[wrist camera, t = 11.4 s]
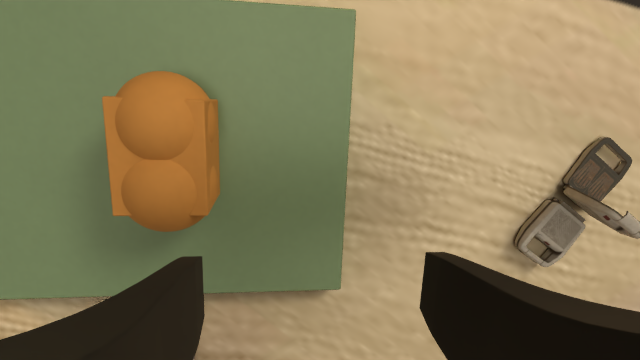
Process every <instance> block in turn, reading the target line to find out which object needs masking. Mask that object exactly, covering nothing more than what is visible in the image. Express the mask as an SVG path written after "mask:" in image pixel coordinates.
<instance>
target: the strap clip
mask: <svg viewBox="0 0 640 360" xmlns="http://www.w3.org/2000/svg"><path fill="white" fill-rule="evenodd" d="M604 144H605V145H606V146H607V147H608V148H609V149H610V150H611V151H612V152H613V153H614V154H616V155H617V156H618V157H619V158H620V159H621V163H620V165H619V166H618V167H617V168H616V169H615V170H613V169H612V168H610V167H609V166H608V165H607V164H606V163H605V162H604V161H603V160H602V159H601V158H600V157H598V156H597V155H596V154H595V153H596V152H597V151H598V150H599V149H600V148H601V147H602V146H603V145H604ZM631 163H632V159H631V157H630V156H629V155H628V154H627V153H626V152H624V151H623V150H622V149H621V148H620V147H619V146H618V145H617V144H616V143H615V142H614V141H613V140H612V139H611V138H608V137H603V138H601V139H598V140H597V141H596V142H594V143H593V144H592V145H591V146H589V147H588V148H587V149H586V150H585V151H584V152H583V154H582V155H581V156H580V158H579V159H578V160H577V162H576V163H575V164H574V166H573V167H572V169H571V170H570V171H569V173H568V174H567V175H566V177H565V178H564V180H563V182H564V183H565V184H566V185H565V186H564V187H563V188H564V189H565V190H564V191H563V192H564V194H565V195H566V196H568V197H569V198H570V199H571V200H572V201H573V202H575V203H576V204H577V205H578V206H579V207H581V208H582V209H583V210H584V211H585V212H586V213H588V214H589V215H590V216H592V217H594V218H595V219H597V220H599V221H600V222H602V223H604V224H605V225H607V226H609V227H610V228H612V229H614V230H615V231H617V232H619V233H621V234H624V235H627V236H629V237H632V238H636V239H638V238H640V222H639V221H638V220H637V219H636V218H635V217H634V216H632V215H631V214H630V213H629V212H628V211H626V212H627V213H626V215H625V216H624V217H623V216H622V215H621V214H619V213H618V212H617V211H615V210H614V209H612V208H611V207H609V206H607V205H605V204H603V203H602V202H601V200H602V199H603V198H604V197H605V196H606V195H607V194H608V193H609V192H610V191H611V190H612V189H613V188H614V187H615V185H616V184H617V183H618V182H619V181H620V180H621V179H622V178H623V176H624V175H625V173H626V172H627V170H628V169H629V167H630V166H631ZM584 221H585V219H584V218H583V217H582V216H580V215H579V214H578V213H577V212H576V211H574V210H573V209H572V208H571V207H570V206H568V205H567V204H566V203H565V202H564V201H561V200H560V201H559V200H557V199H556V198H554V199H553V200H552V201H551V200H546V201H545V202H544V203H543V204H542V205H541V206H540V207H539V208H538V209H537V210H536V212H535V213H534V214H533V215H532V216H531V217H530V218H529V219H528V220H527V221H526V223H525V224H524V225H523V226H522V227H521V229H520V231H519V233H518V235H517V237H516V239H515V246H516V247H517V248H518V249H519V250H520V251H521V252H522V253H523V254H525V255H526V256H527V257H529V258H530V259H531V260H533V261H534V262H536V263H538V264H539V265H541V266H543V267H549V266H551V265H552V264H554V263H555V262H557V261H558V260H559V259H561V258H562V257H563V256H564V255H565V254H566V252H567V251H568V250H569V248H570V247H571V246H572V245H573V243H574V242H575V241H576V239H577V238H578V237H579V235H580V234H581V233H582V232H583V230H584V229H585V225H584V224H583V222H584ZM534 236H535V237H536V238H538V239H539V240H540V241H541V242H543V243H544V244H545V245H546V246H548V247H549V248H548V249H547V251H546V252H545V253H544V254H543V256H542V257H541V258H539V257H538V256H537V255H535V254H534V253H533V252H531V251H530V250H529V249H528V248H527V244H528V243H529V242H530V241H531V240H532V238H533V237H534Z"/></svg>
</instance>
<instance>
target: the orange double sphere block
mask: <svg viewBox="0 0 640 360" xmlns="http://www.w3.org/2000/svg"><path fill="white" fill-rule="evenodd" d="M102 104H103V115H104V126H105V136H106V147H107V158H108V169H109V180H110V190H111V201H112V212H113V216H129V217H130V218H131V219H132V220H134V221H135V222H136V223H138V224H140V225H141V226H143V227H146V228H148V229H151V230H155V231H160V232H173V231H179V230H183V229H186V228H188V227H190V226H192V225H194V224H196V223H197V222H199V221H200V220H201V219H202V218H204V217H205V216H207V215H208V214H209V212H210V210H211V209H212V207H213V205H214V203H215V201H216V200H217V198H218V196H219V194H220V172H219V129H218V100H217V99H210V98H209V97H208V96H207V94H206V93H205V92H204V90H203V89H202V88H201V87H200V86H198V85H197V84H196V83H195V82H193V81H192V80H190V79H188V78H186V77H185V76H182V75H180V74H177V73H173V72H167V71H152V72H147V73H143V74H140V75H138V76H136V77H134V78H132V79H131V80H129V81H128V82H127V83H125V84H124V85H123V86H122V87H121V89H120V90H119V91H118V93H117V94H116V96H103V97H102Z"/></svg>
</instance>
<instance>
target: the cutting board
mask: <svg viewBox="0 0 640 360" xmlns="http://www.w3.org/2000/svg"><path fill="white" fill-rule="evenodd" d="M355 21H356V10H354V9H340V8H327V7H313V6H299V5H285V4H271V3H258V2H244V1H230V0H0V300H1V299H35V298H69V297H103V296H114V295H116V294H118V293H120V292H122V291H123V290H125V289H127V288H129V287H131V286H132V285H134V284H136V283H138V282H140V281H141V280H143V279H145V278H146V277H148V276H149V275H151V274H153V273H154V272H156V271H157V270H159V269H161V268H162V267H164V266H166V265H167V264H169V263H170V262H172V261H174V260H176V259H177V258H180V257H185V256H202V262H203V290H204V293H238V292H272V291H306V290H339V289H340V288H341V270H342V252H343V234H344V217H345V199H346V181H347V163H348V146H349V128H350V110H351V92H352V75H353V57H354V39H355ZM152 71H167V72H173V73H177V74H180V75H182V76H185V77H186V78H188V79H190V80H192V81H193V82H195V83H196V84H197V85H198V86H200V87H201V88H202V89H203V90H204V92H205V93H206V94H207V96H208V97H209V98H210V99H217V100H218V129H219V172H220V194H219V196H218V198H217V200H216V201H215V203H214V205H213V207H212V209H211V210H210V212H209V214H208V215H207V216H205V217H204V218H202V219H201V220H200V221H199V222H197V223H196V224H194V225H192V226H190V227H188V228H186V229H183V230H179V231H173V232H160V231H155V230H151V229H148V228H146V227H143V226H141V225H140V224H138V223H136V222H135V221H134V220H132V219H131V218H130V217H129V216H113V212H112V201H111V190H110V180H109V169H108V158H107V147H106V136H105V126H104V115H103V104H102V97H103V96H116V94H117V93H118V91H119V90H120V89H121V87H122V86H123V85H124V84H125V83H127V82H128V81H129V80H131V79H132V78H134V77H136V76H138V75H140V74H143V73H147V72H152Z"/></svg>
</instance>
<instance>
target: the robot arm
mask: <svg viewBox="0 0 640 360" xmlns="http://www.w3.org/2000/svg"><path fill="white" fill-rule="evenodd" d="M420 310H421V312H422V314H423V317H424V319H425V321H426V324H427V326H428V328H429V330H430V332H431V334H432V336H433V337H434V339H435V341H436V342H437V344H438V345H439V347H440V349H441V350H442V352H443V353H444V355H445V356H446V358H447V360H640V312H637V311H632V310H626V309H621V308H616V307H612V306H607V305H603V304H598V303H594V302H589V301H585V300H581V299H577V298H574V297H570V296H567V295H563V294H560V293H556V292H553V291H549V290H546V289H543V288H540V287H537V286H534V285H531V284H528V283H526V282H523V281H520V280H517V279H515V278H512V277H509V276H507V275H504V274H502V273H499V272H497V271H494V270H492V269H489V268H487V267H484V266H482V265H479V264H477V263H474V262H472V261H469V260H467V259H464V258H461V257H459V256H456V255H453V254H449V253H445V252H426V256H425V265H424V274H423V283H422V292H421V301H420ZM203 320H204V290H203V262H202V256H185V257H180V258H177V259H176V260H174V261H172V262H170V263H169V264H167V265H166V266H164V267H162V268H161V269H159V270H157V271H156V272H154V273H153V274H151V275H149V276H148V277H146V278H145V279H143V280H141V281H140V282H138V283H136V284H134V285H132V286H131V287H129V288H127V289H125V290H123V291H122V292H120V293H118V294H116V295H114V296H113V297H111V298H109V299H107V300H105V301H103V302H101V303H98V304H96V305H94V306H92V307H90V308H87V309H85V310H83V311H81V312H78V313H76V314H74V315H71V316H69V317H66V318H63V319H61V320H58V321H55V322H52V323H50V324H47V325H44V326H41V327H39V328H36V329H33V330H30V331H27V332H24V333H21V334H18V335H15V336H11V337H8V338H5V339H2V340H0V360H195V358H194V356H195V353H196V350H197V347H198V344H199V339H200V335H201V330H202V325H203Z"/></svg>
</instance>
